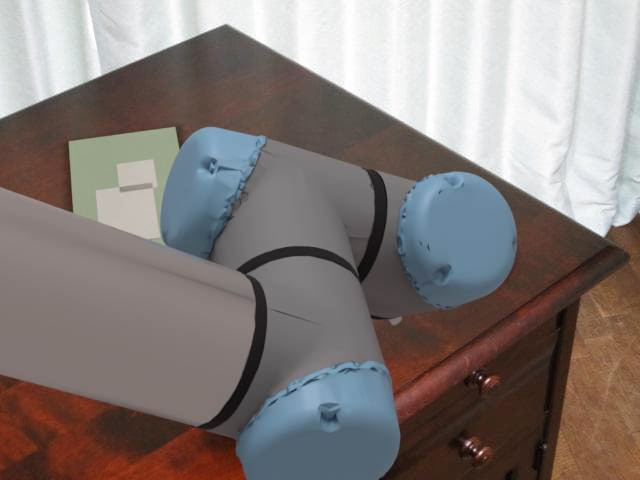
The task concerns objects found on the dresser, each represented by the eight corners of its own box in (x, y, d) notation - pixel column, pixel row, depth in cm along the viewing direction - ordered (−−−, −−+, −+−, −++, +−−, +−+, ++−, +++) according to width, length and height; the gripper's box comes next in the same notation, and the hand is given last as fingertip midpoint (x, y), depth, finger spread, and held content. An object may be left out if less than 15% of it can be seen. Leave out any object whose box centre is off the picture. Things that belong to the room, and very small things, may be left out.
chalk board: (199, 260, 114) (198, 255, 114) (78, 278, 113) (76, 273, 112) (175, 130, 130) (175, 125, 130) (69, 145, 129) (68, 140, 128)
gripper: (276, 382, 74) (158, 399, 94) (458, 265, 82) (312, 304, 102) (220, 279, 73) (113, 319, 94) (409, 171, 81) (272, 229, 102)
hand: (217, 311), depth 98 cm, fingers closed on eraser, 3 cm apart
